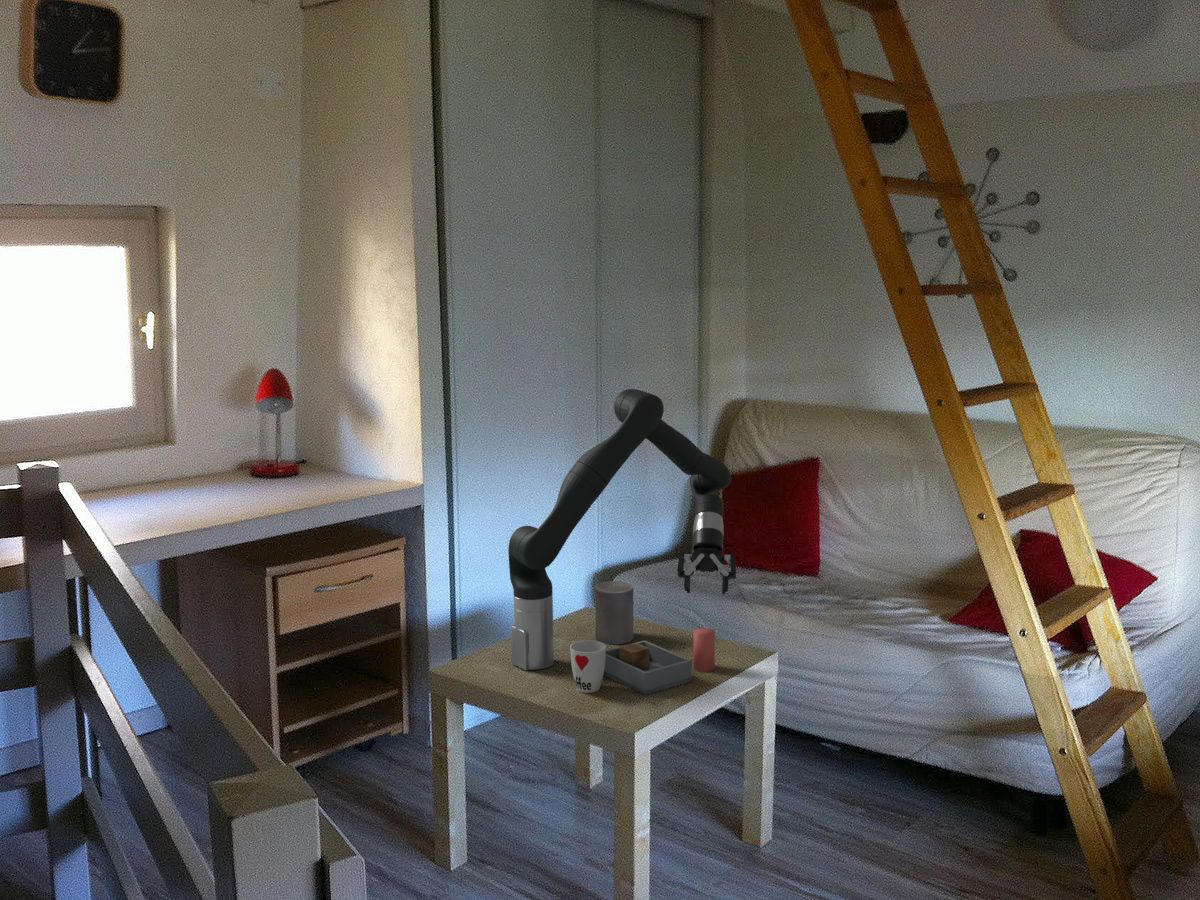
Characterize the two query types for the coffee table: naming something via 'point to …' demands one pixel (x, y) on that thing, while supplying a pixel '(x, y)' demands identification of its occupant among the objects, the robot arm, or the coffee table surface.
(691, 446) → the robot arm
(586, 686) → the cup
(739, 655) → the coffee table surface
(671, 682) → the tote
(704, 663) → the red capsule
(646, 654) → the walnut cube
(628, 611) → the pillar candle
